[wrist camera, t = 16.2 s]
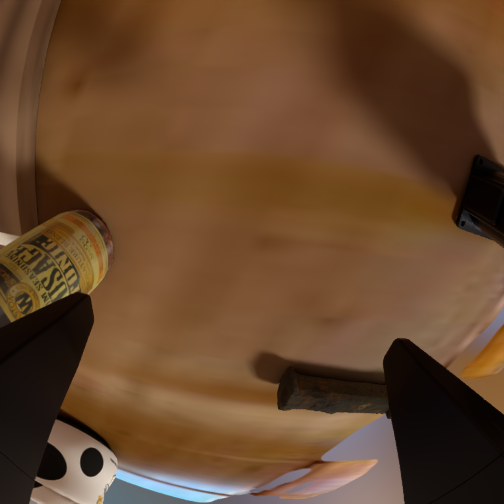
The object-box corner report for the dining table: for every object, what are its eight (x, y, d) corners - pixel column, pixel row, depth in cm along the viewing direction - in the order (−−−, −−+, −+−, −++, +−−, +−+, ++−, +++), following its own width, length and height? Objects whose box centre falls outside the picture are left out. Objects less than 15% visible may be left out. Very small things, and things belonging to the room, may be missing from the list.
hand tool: (272, 384, 28) (274, 421, 24) (288, 360, 26) (292, 399, 22) (403, 399, 30) (414, 426, 26) (422, 380, 29) (435, 408, 25)
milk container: (127, 465, 42) (110, 535, 25) (54, 436, 40) (30, 499, 24) (114, 431, 34) (86, 525, 18) (28, 394, 33) (-11, 471, 17)
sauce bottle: (131, 260, 21) (-4, 503, 3) (81, 283, 22) (-40, 469, 4) (92, 187, 19) (-130, 374, 1) (44, 219, 20) (-121, 376, 2)
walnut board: (78, -41, 9) (63, -51, 7) (51, 296, 23) (37, 311, 21) (23, -19, 9) (7, -24, 7) (6, 282, 23) (-7, 294, 20)
